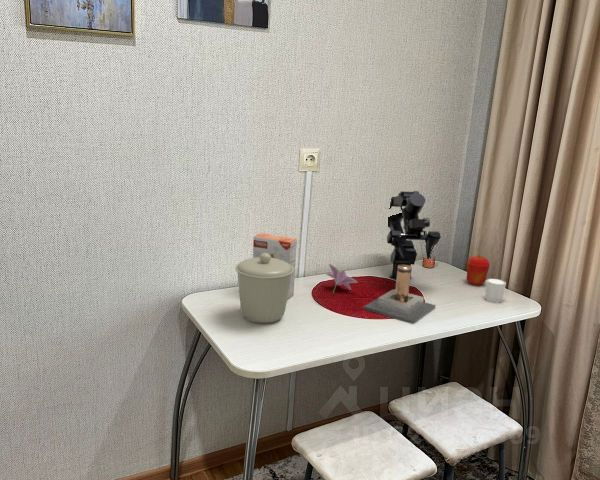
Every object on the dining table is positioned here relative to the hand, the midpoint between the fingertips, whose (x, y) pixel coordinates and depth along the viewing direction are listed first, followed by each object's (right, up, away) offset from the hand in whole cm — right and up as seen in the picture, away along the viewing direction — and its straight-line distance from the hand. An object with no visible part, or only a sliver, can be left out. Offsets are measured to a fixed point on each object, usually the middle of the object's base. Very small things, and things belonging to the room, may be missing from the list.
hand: (416, 257), depth 207 cm
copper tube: (-8, -16, -12) cm, 21 cm away
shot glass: (+28, -15, +2) cm, 32 cm away
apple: (+27, -11, +18) cm, 34 cm away
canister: (-54, -18, -25) cm, 62 cm away
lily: (-27, -12, +3) cm, 30 cm away
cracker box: (-51, -13, -5) cm, 53 cm away
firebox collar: (-8, -17, -12) cm, 22 cm away
